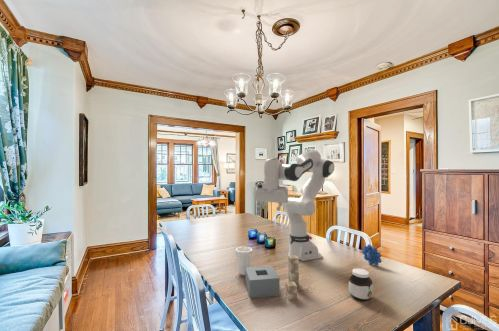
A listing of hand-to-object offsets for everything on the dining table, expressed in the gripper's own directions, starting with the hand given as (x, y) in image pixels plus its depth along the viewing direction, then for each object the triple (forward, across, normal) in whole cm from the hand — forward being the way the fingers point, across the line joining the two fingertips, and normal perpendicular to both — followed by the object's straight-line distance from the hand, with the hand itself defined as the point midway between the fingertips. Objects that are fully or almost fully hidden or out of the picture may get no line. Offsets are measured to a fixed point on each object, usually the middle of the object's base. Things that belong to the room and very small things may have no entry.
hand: (271, 209), depth 138 cm
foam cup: (+36, +12, +10) cm, 39 cm away
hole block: (+35, -6, +21) cm, 42 cm away
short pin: (+35, -21, +20) cm, 46 cm away
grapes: (+34, -48, -40) cm, 71 cm away
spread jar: (+35, -47, +1) cm, 59 cm away
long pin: (+35, -18, +8) cm, 40 cm away
